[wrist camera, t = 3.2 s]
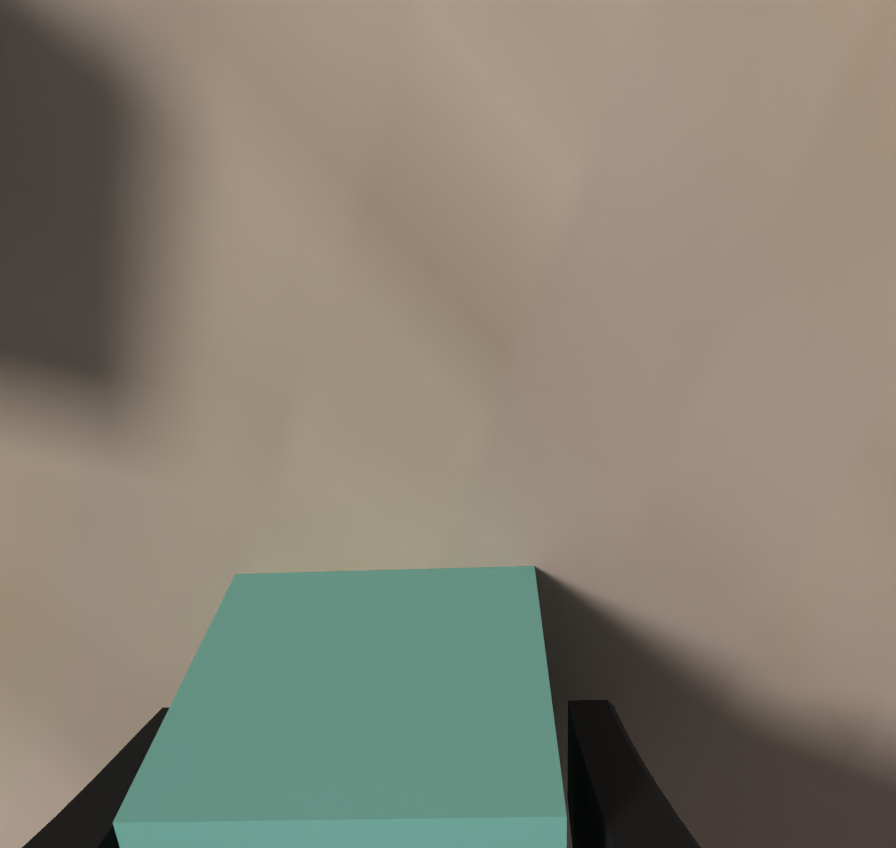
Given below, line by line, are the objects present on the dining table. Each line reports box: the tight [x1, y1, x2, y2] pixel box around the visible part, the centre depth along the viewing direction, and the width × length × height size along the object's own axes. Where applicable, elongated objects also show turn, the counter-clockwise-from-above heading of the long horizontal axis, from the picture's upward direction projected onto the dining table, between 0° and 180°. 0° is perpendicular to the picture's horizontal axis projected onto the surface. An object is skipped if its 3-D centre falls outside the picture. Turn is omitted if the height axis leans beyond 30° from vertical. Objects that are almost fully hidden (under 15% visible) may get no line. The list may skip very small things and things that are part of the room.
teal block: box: [113, 566, 567, 848], centre depth 12 cm, size 5×5×5 cm
